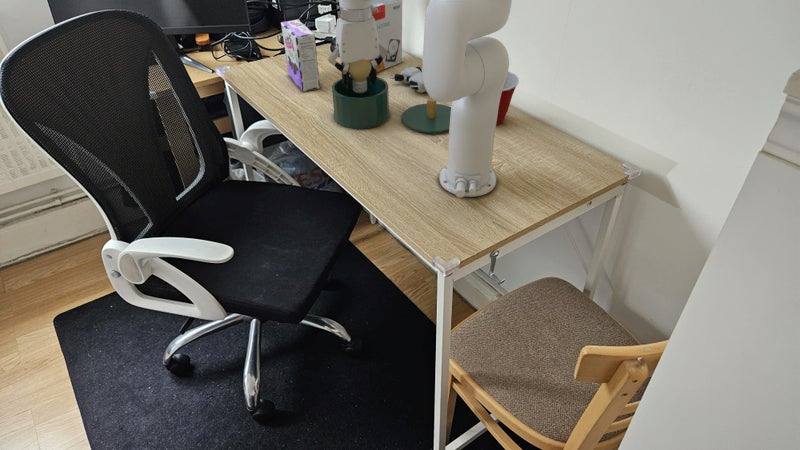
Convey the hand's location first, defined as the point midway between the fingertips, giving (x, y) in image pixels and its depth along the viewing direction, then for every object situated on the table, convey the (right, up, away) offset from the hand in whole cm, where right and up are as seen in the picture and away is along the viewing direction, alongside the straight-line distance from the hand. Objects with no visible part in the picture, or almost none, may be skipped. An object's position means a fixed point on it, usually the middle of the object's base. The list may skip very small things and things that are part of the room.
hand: (359, 83), depth 134 cm
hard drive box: (+3, +14, +32) cm, 35 cm away
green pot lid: (+19, -8, +3) cm, 21 cm away
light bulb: (0, -2, +1) cm, 2 cm away
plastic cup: (+35, -9, +3) cm, 36 cm away
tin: (0, -7, +6) cm, 9 cm away
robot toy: (+16, +5, +20) cm, 26 cm away
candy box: (-19, +7, +23) cm, 30 cm away
